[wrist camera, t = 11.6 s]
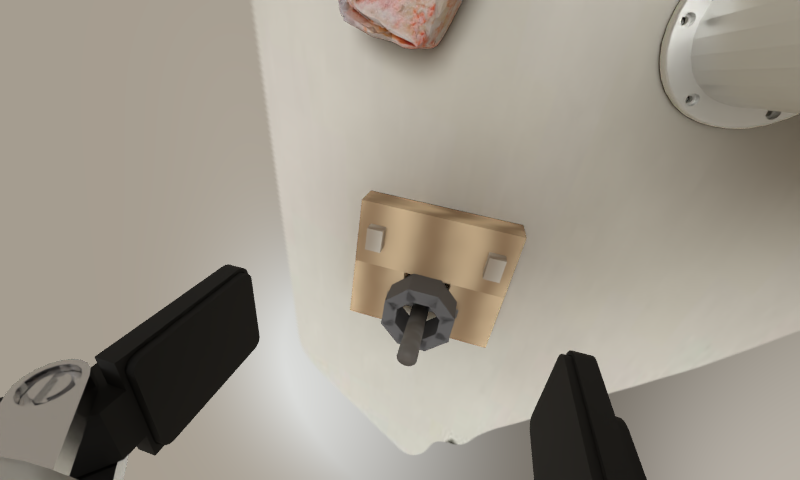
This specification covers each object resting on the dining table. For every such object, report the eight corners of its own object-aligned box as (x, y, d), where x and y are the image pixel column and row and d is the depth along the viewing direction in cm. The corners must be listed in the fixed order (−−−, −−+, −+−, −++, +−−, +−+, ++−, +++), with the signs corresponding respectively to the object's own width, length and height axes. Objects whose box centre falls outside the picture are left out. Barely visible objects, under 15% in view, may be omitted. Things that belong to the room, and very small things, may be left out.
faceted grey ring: (461, 285, 34) (459, 302, 32) (446, 337, 38) (443, 356, 35) (394, 268, 35) (387, 283, 33) (385, 320, 39) (378, 337, 36)
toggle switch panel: (523, 225, 33) (539, 285, 24) (485, 330, 40) (485, 410, 30) (371, 190, 35) (328, 232, 26) (358, 295, 42) (321, 360, 32)
